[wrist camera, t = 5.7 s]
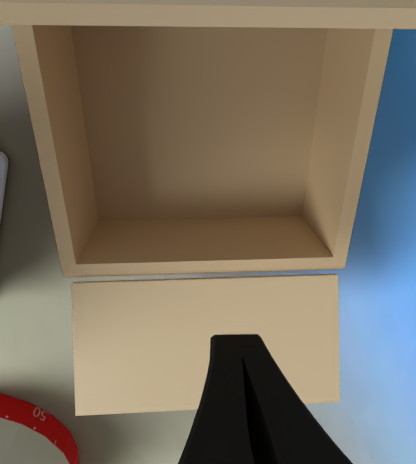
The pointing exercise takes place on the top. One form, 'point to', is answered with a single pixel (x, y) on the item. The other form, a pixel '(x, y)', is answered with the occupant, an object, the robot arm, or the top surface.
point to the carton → (201, 143)
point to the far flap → (198, 337)
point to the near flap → (213, 13)
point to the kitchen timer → (33, 435)
